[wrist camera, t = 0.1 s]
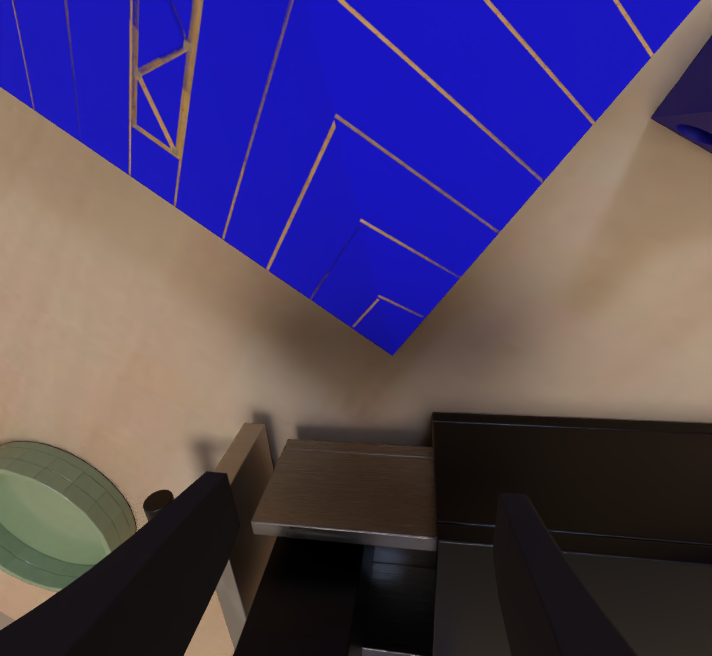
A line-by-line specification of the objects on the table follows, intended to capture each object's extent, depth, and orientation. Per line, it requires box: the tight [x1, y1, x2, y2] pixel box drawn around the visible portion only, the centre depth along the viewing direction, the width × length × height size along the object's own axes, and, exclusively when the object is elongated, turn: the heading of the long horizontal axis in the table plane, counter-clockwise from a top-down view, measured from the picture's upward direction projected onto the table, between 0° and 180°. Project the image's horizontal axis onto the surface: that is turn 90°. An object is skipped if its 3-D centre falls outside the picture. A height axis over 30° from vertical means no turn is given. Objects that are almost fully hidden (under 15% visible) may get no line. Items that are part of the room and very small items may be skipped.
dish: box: [0, 442, 136, 592], centre depth 28 cm, size 12×12×2 cm
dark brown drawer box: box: [432, 412, 712, 656], centre depth 19 cm, size 14×12×8 cm
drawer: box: [143, 423, 436, 656], centre depth 21 cm, size 17×10×6 cm, turn 93°
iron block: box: [233, 536, 375, 656], centre depth 19 cm, size 4×4×8 cm
